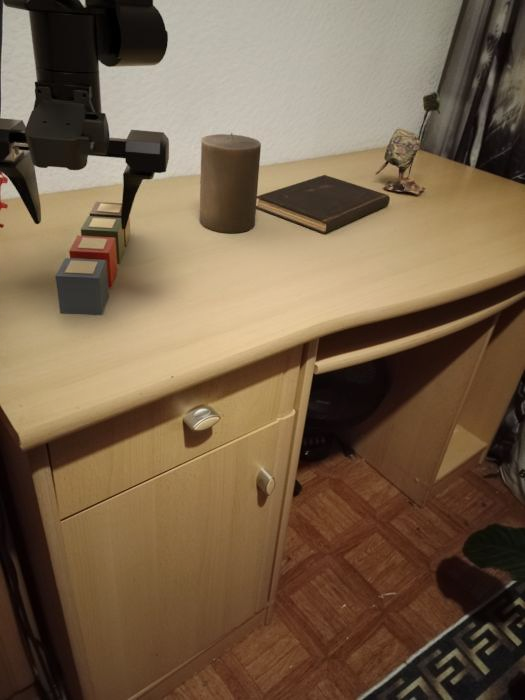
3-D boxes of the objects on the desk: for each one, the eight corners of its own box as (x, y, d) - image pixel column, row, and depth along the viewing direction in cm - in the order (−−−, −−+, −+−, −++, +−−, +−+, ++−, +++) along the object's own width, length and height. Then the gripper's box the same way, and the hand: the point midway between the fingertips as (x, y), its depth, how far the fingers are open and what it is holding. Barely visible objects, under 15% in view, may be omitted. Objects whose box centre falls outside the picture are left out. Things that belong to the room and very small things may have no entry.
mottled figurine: (384, 178, 125) (405, 84, 114) (429, 192, 120) (456, 94, 109) (367, 185, 120) (387, 86, 109) (413, 199, 114) (440, 97, 103)
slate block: (59, 313, 65) (54, 275, 63) (69, 293, 70) (65, 256, 67) (102, 315, 66) (99, 277, 63) (109, 295, 70) (106, 259, 67)
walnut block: (92, 245, 82) (89, 212, 79) (98, 232, 86) (95, 200, 83) (125, 247, 82) (124, 214, 79) (130, 234, 86) (128, 203, 84)
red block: (73, 285, 71) (68, 250, 68) (81, 268, 75) (77, 234, 72) (111, 287, 72) (109, 252, 69) (117, 270, 76) (115, 236, 73)
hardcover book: (254, 208, 101) (256, 196, 100) (322, 185, 117) (324, 174, 116) (325, 235, 94) (327, 222, 92) (388, 206, 109) (390, 195, 108)
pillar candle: (254, 235, 91) (263, 142, 82) (196, 231, 90) (198, 137, 82) (254, 214, 99) (262, 128, 90) (200, 210, 98) (203, 122, 90)
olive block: (84, 262, 77) (80, 228, 74) (90, 247, 81) (87, 215, 78) (119, 264, 77) (117, 230, 75) (124, 249, 82) (123, 217, 79)
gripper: (-75, 69, 43) (-35, 250, 52) (161, 92, 46) (161, 261, 54) (-25, 54, 53) (1, 209, 61) (169, 73, 55) (168, 221, 63)
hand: (81, 225), depth 60 cm, fingers open, 9 cm apart
